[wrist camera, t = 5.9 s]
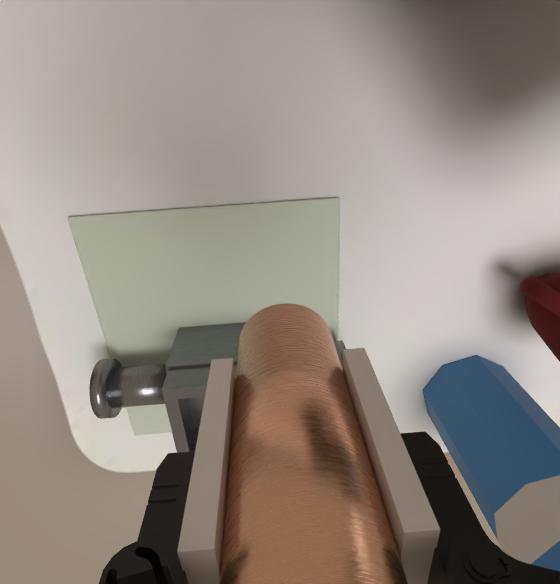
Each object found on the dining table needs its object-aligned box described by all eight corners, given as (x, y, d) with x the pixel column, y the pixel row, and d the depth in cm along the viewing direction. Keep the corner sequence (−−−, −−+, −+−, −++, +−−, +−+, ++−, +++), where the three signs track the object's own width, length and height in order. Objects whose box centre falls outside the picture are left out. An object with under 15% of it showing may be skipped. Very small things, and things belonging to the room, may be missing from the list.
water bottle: (482, 339, 39) (780, 654, 17) (521, 391, 43) (813, 710, 20) (405, 389, 42) (577, 723, 19) (448, 435, 45) (637, 763, 23)
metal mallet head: (103, 333, 36) (62, 395, 29) (338, 314, 37) (359, 371, 29) (129, 419, 41) (101, 493, 33) (337, 402, 42) (355, 470, 34)
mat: (69, 216, 32) (67, 217, 31) (338, 197, 32) (339, 198, 32) (135, 432, 42) (134, 435, 42) (336, 415, 43) (337, 417, 42)
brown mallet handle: (233, 307, 16) (165, 890, 4) (331, 299, 16) (532, 853, 4) (243, 384, 18) (215, 941, 6) (331, 377, 18) (472, 915, 6)
